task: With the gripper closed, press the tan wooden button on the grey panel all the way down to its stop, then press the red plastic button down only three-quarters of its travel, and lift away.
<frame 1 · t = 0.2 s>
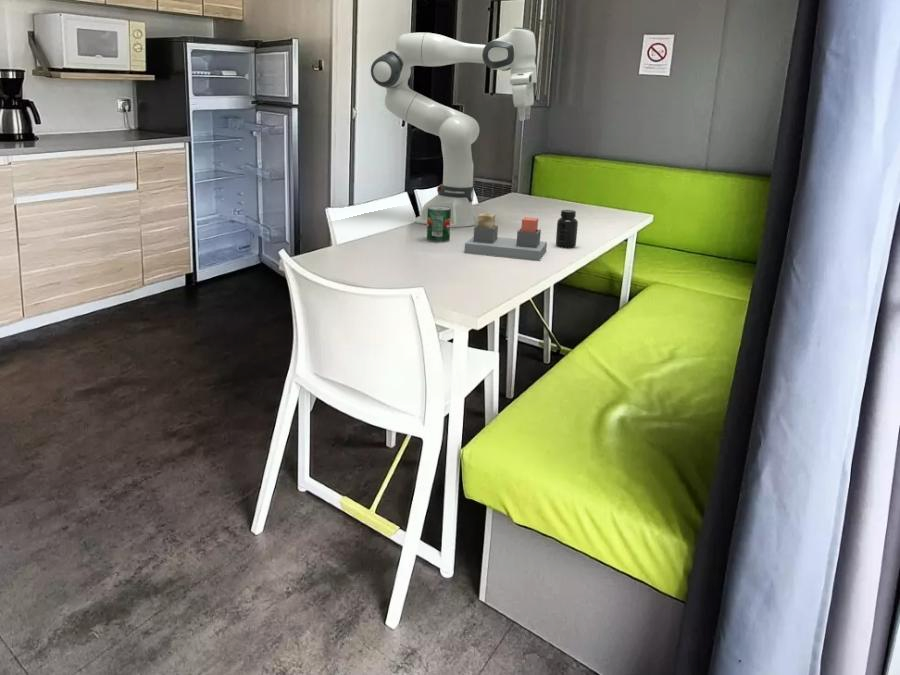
hand: (524, 120, 251), 39 cm above the table, tool pointing down, fingers open, 8 cm apart
button panel: (505, 251, 231), on the table
tan button: (486, 221, 229), point 9 cm above the table, slide at 0.0 cm
red button: (529, 225, 226), point 9 cm above the table, slide at 0.0 cm
supplement bottle: (565, 246, 242), on the table
canned tomato: (438, 240, 243), on the table
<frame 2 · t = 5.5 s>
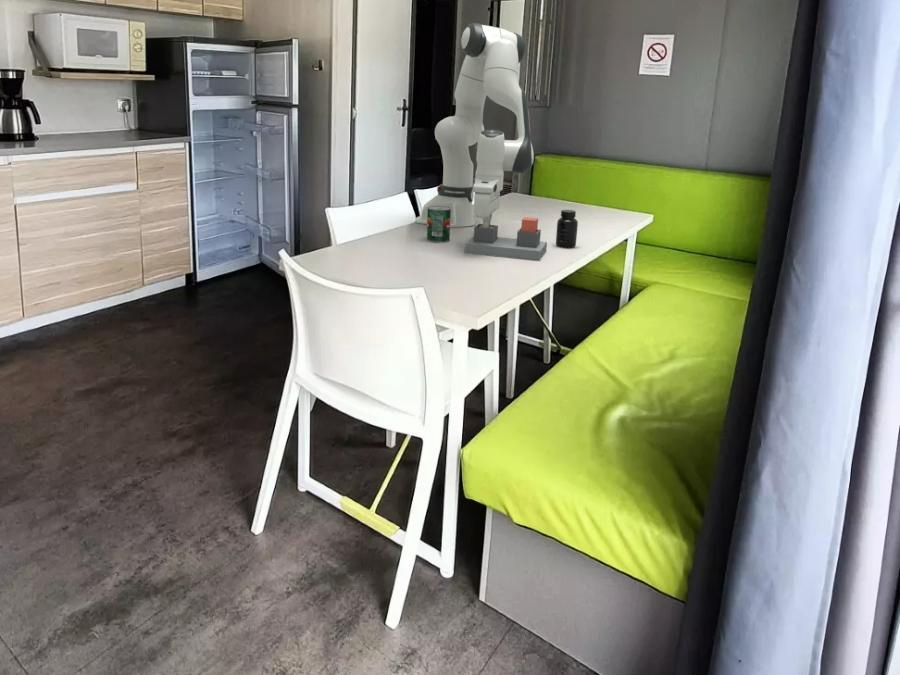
hand: (486, 227, 230), 7 cm above the table, tool pointing down, fingers closed, pressing on tan button
tan button: (485, 233, 231), point 5 cm above the table, slide at 4.0 cm, touching gripper
everything else where it was.
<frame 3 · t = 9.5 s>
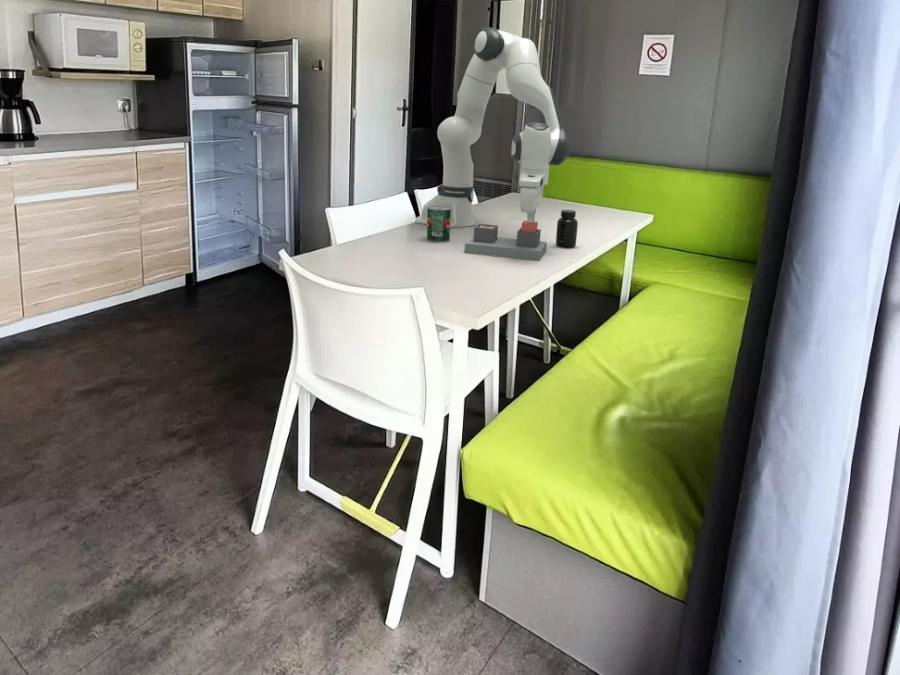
hand: (530, 222, 226), 10 cm above the table, tool pointing down, fingers closed, pressing on red button
tan button: (485, 233, 231), point 5 cm above the table, slide at 4.0 cm
red button: (529, 228, 226), point 8 cm above the table, slide at 1.1 cm, touching gripper
everything else where it was.
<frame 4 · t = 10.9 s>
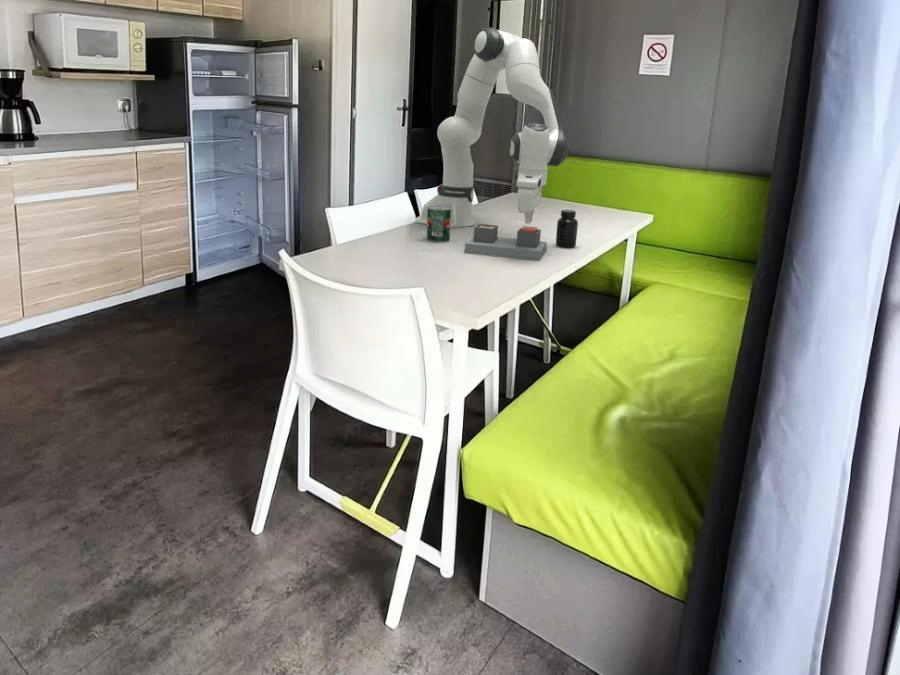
hand: (528, 222, 226), 10 cm above the table, tool pointing down, fingers closed
red button: (528, 234, 227), point 6 cm above the table, slide at 2.9 cm
everything else where it was.
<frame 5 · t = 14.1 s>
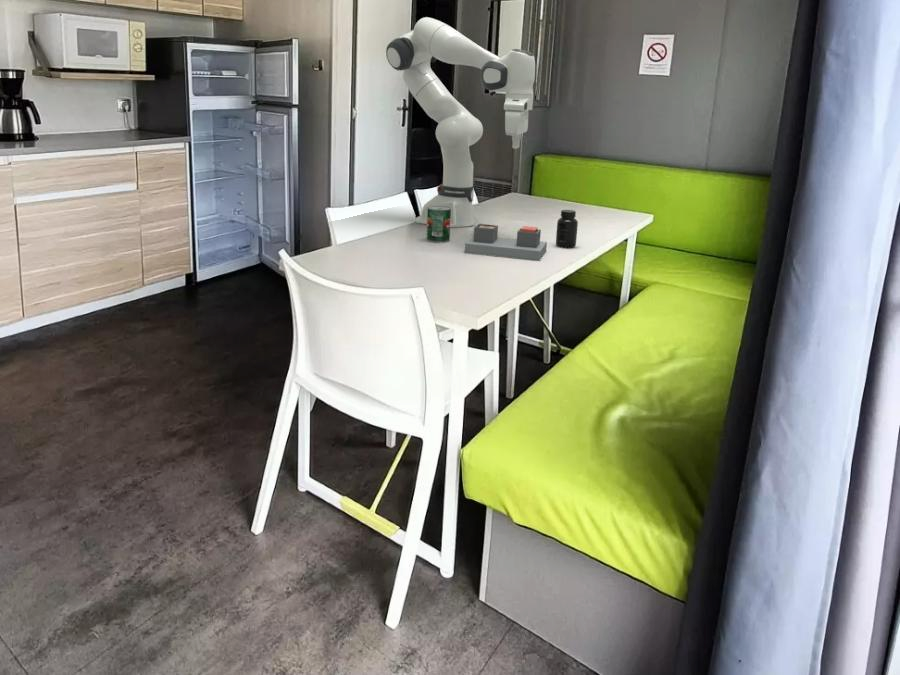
hand: (515, 148, 234), 31 cm above the table, tool pointing down, fingers closed
nothing on the table moved.
at the end: tan button slide at 4.0 cm; red button slide at 2.9 cm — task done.
